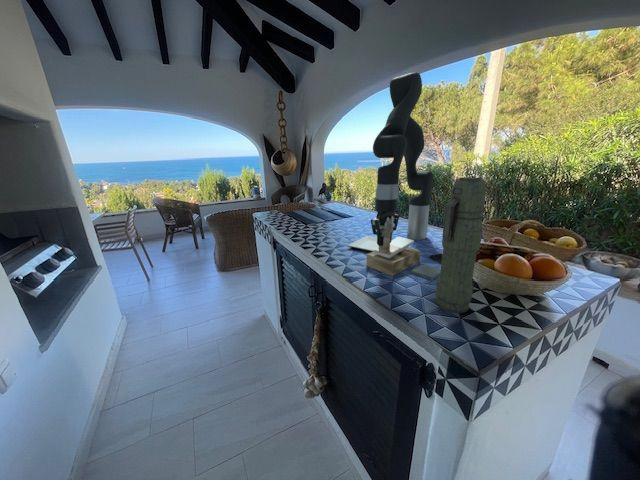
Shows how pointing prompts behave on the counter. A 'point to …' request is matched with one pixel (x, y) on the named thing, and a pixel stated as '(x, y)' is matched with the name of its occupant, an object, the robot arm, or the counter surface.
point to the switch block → (394, 261)
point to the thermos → (460, 244)
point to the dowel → (386, 238)
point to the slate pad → (426, 272)
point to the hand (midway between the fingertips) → (384, 243)
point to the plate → (365, 243)
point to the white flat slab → (395, 247)
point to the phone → (436, 258)
